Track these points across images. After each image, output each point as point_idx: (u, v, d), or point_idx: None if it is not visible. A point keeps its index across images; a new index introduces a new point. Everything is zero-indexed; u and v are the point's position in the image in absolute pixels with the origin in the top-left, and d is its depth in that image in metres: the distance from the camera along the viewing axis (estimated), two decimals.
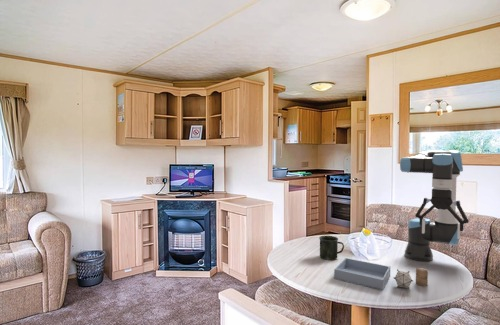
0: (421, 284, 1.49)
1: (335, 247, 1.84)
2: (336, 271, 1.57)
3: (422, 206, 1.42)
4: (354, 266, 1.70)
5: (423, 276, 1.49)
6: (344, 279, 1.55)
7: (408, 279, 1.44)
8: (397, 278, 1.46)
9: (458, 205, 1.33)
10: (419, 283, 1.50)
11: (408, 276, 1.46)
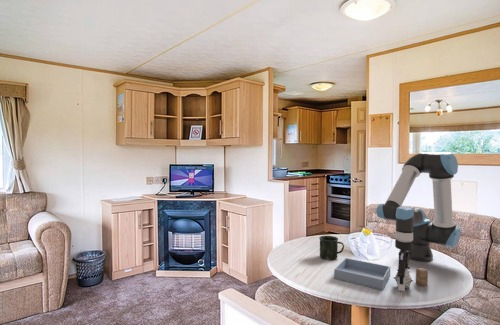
0: (421, 284, 1.49)
1: (335, 247, 1.84)
2: (336, 271, 1.57)
3: None
4: (354, 266, 1.70)
5: (423, 276, 1.49)
6: (344, 279, 1.55)
7: (408, 279, 1.44)
8: (397, 278, 1.46)
9: (399, 258, 1.42)
10: (419, 283, 1.50)
11: (408, 276, 1.46)
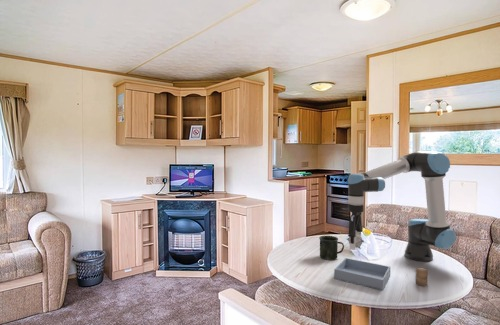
0: (421, 284, 1.49)
1: (335, 247, 1.84)
2: (336, 271, 1.57)
3: None
4: (354, 266, 1.70)
5: (423, 276, 1.49)
6: (344, 279, 1.55)
7: (359, 239, 1.57)
8: (349, 239, 1.59)
9: None
10: (419, 283, 1.50)
11: (359, 237, 1.58)
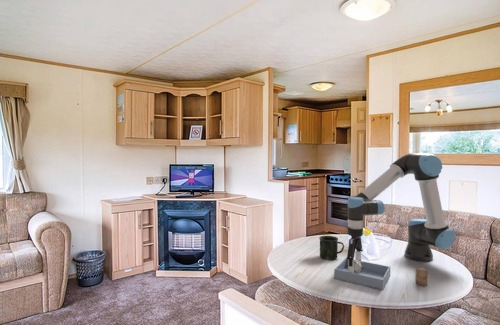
0: (421, 284, 1.49)
1: (335, 247, 1.84)
2: (336, 271, 1.57)
3: None
4: None
5: (423, 276, 1.49)
6: (344, 279, 1.55)
7: (359, 266, 1.58)
8: None
9: None
10: (419, 283, 1.50)
11: (359, 263, 1.59)
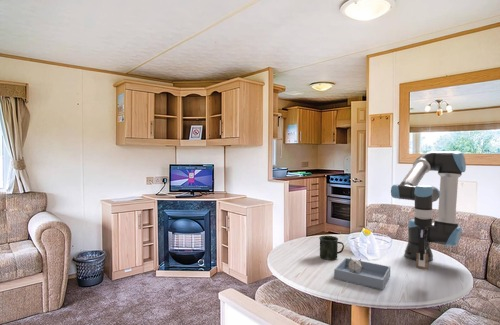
0: (422, 267, 1.49)
1: (335, 247, 1.84)
2: (336, 271, 1.57)
3: None
4: None
5: None
6: (344, 279, 1.55)
7: (359, 266, 1.58)
8: (349, 266, 1.60)
9: (418, 236, 1.46)
10: (420, 267, 1.50)
11: (359, 263, 1.59)
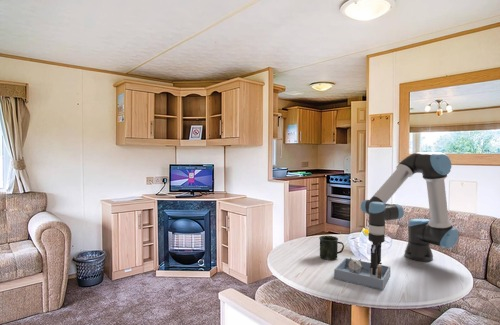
0: None
1: (335, 247, 1.84)
2: (336, 271, 1.57)
3: None
4: None
5: None
6: (344, 279, 1.55)
7: (359, 266, 1.58)
8: (349, 266, 1.60)
9: None
10: None
11: (359, 263, 1.59)
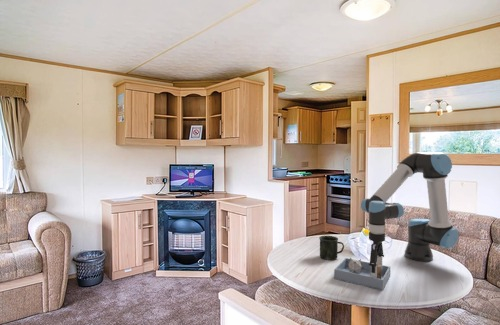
0: None
1: (335, 247, 1.84)
2: (336, 271, 1.57)
3: None
4: None
5: None
6: (344, 279, 1.55)
7: (359, 266, 1.58)
8: (349, 266, 1.60)
9: None
10: None
11: (359, 263, 1.59)
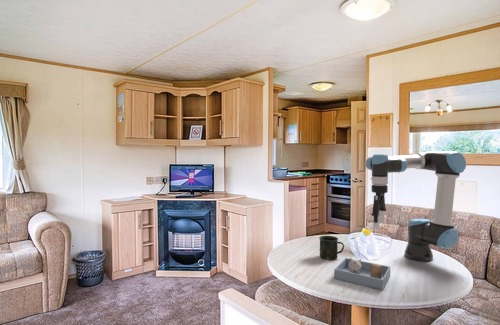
0: None
1: (335, 247, 1.84)
2: (336, 271, 1.57)
3: None
4: None
5: (376, 271, 1.53)
6: (344, 279, 1.55)
7: (359, 266, 1.58)
8: (349, 266, 1.60)
9: None
10: None
11: (359, 263, 1.59)
